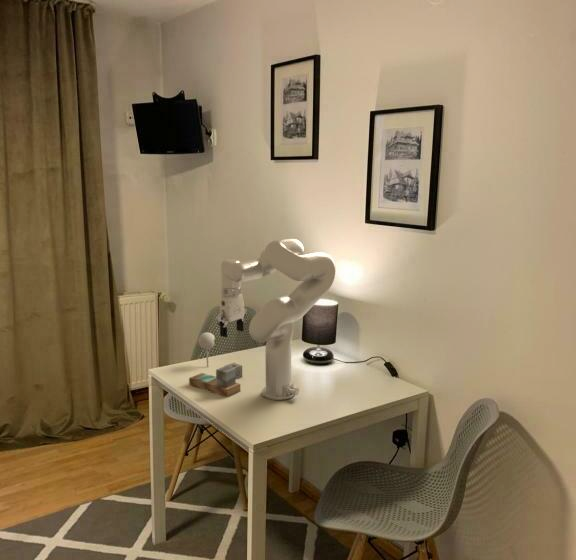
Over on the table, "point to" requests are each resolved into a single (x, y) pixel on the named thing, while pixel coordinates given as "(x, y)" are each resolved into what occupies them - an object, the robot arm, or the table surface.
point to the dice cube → (236, 369)
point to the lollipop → (206, 342)
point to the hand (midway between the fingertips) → (232, 333)
